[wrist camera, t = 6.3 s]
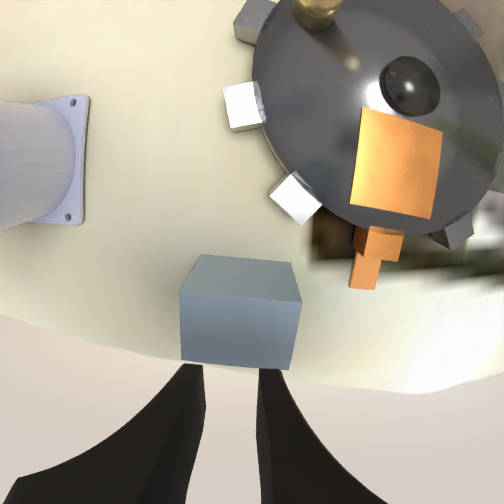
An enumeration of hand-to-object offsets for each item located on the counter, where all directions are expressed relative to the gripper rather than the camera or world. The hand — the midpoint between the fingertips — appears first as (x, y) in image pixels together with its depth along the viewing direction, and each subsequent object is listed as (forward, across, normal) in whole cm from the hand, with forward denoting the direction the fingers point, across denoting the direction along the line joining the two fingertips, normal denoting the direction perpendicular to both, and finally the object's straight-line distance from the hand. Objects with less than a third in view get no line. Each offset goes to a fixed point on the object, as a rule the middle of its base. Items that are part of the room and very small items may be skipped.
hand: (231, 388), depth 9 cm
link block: (+8, 0, 0) cm, 8 cm away
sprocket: (+8, -8, -12) cm, 16 cm away
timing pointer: (+8, -7, -1) cm, 11 cm away
